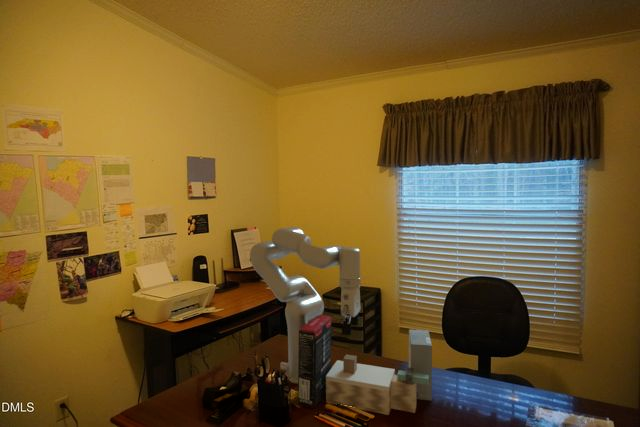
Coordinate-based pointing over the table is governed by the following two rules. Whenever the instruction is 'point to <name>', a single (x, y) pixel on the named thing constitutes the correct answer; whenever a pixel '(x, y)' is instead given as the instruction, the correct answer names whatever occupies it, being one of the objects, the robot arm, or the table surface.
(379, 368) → the toolbox lid
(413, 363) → the hard drive box
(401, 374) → the teal rectangular block
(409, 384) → the toolbox
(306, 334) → the graphics card box
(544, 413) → the table surface
